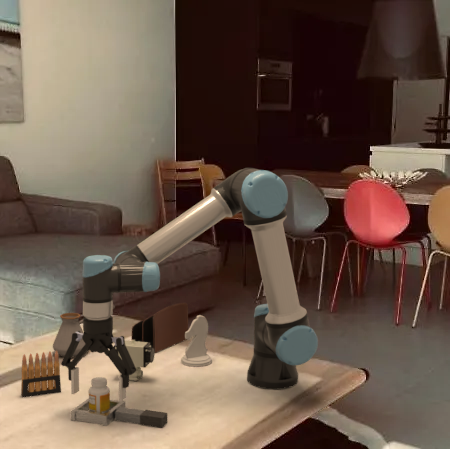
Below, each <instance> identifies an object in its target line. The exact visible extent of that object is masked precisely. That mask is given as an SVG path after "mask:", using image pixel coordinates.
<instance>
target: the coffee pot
mask: <svg viewBox="0 0 450 449" xmlns="http://www.w3.org/2000/svg"><path fill="white" fill-rule="evenodd" d="M115 308H116V306H115V305H114V304H113V310H114V309H115ZM59 317H60V318H61V321H62V322H61V323H60V327H59V329H58V332H57V334H56V337H55V339H54V341H53V343H52V349H53V351H54V353H55V352H56V351H57V352H58V356H60V357H62V358H64V356H65V354H66V352H67V350H68V348H69V346H70V343H71V341H72V334H73V333H75V332H77V331H80V332H81V333H83V334H84V331H83V327H81V324H83V319H81V320H80V321H79V318H80V317H81V314H79V313H77V312H66V313H61V314H60V315H59ZM84 345H85V342H84V341H83V339H82V340H80V342H79V344H78V346H77V348H76V350H75V352H74V354H73V357H72V358H75V357H76V355H77V354H78V353H79V352H80V351H81V349H82V348H83V347H84Z"/></svg>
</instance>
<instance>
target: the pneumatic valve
mask: <svg viewBox="0 0 450 449" xmlns="http://www.w3.org/2000/svg"><path fill="white" fill-rule="evenodd" d="M125 345H126V348H127V350H128V352H129V354H130V356H131V359H132V361H133V363H134V365H135V368H136V372H134V373H133V374H132V375H129V382H130V381H132V382H138V381H139V379H142V378H143V376H144V371H143V369H142V368H147V367H148V365H150V364H152V363H154V360H155V354H156V353H155V352H154V348H151V346H150V342H140V341H138V342H137V341H135V340H132V341H131V340H125ZM113 347H114V348H115V351H116V352H117V354H118V355H119V357H120V358H121V356H120V354H119V352H118V349H117V346H115V344H114V345H113ZM121 359H122V358H121Z"/></svg>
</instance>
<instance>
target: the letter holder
mask: <svg viewBox="0 0 450 449" xmlns="http://www.w3.org/2000/svg"><path fill="white" fill-rule="evenodd" d="M188 330H189V305H188V303H186V302H178V303H174V304H171V305H168V306H166V307H163V308H162V309H160V310H158V311H157V312H155V313H154V314H152V315H151V316H149V317H147V318H144V319H142V320H140V321H138V322H136V323H135V324H134V325H133V326H132V327H131V340H130V341H132V340H135V341H137V342H138V341H140V342H150V346H151V348H154V352H155V354H157V353H159V352H161V351H164V350H167V349H169V348H170V346H171V347H173V346H175V345H177V344H176V343H178V344H180V343H182V342H184V341H183V340H185V341H187V340H186V339H185V332H187V331H188ZM181 341H182V342H181ZM179 342H180V343H179ZM174 344H175V345H174ZM172 345H173V346H172Z"/></svg>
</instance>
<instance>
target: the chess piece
mask: <svg viewBox="0 0 450 449" xmlns="http://www.w3.org/2000/svg"><path fill="white" fill-rule="evenodd" d="M208 334H209V322H208V320H207V318H206V317H205V316H203V315H201V314H199V315H196V317H195V319H193V320H192V322H191V324H190V326H189V327H188V331H187V332H185V339H187V340H186V341H190V342H189V343H188V345H187V347H186V348H185V352H184V354H183V356H182V357H181V358H180V364H182V365H184V366H187V367H193V368H195V367H196V368H200V367H201V368H202V367H207V366H210V365H211V364H212V363H213V361H212V357H211V356H210V355H209V354H207V353H208V352H209V350H208V348H207V346H206V345H207V344H206V341H207V337H208Z"/></svg>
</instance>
